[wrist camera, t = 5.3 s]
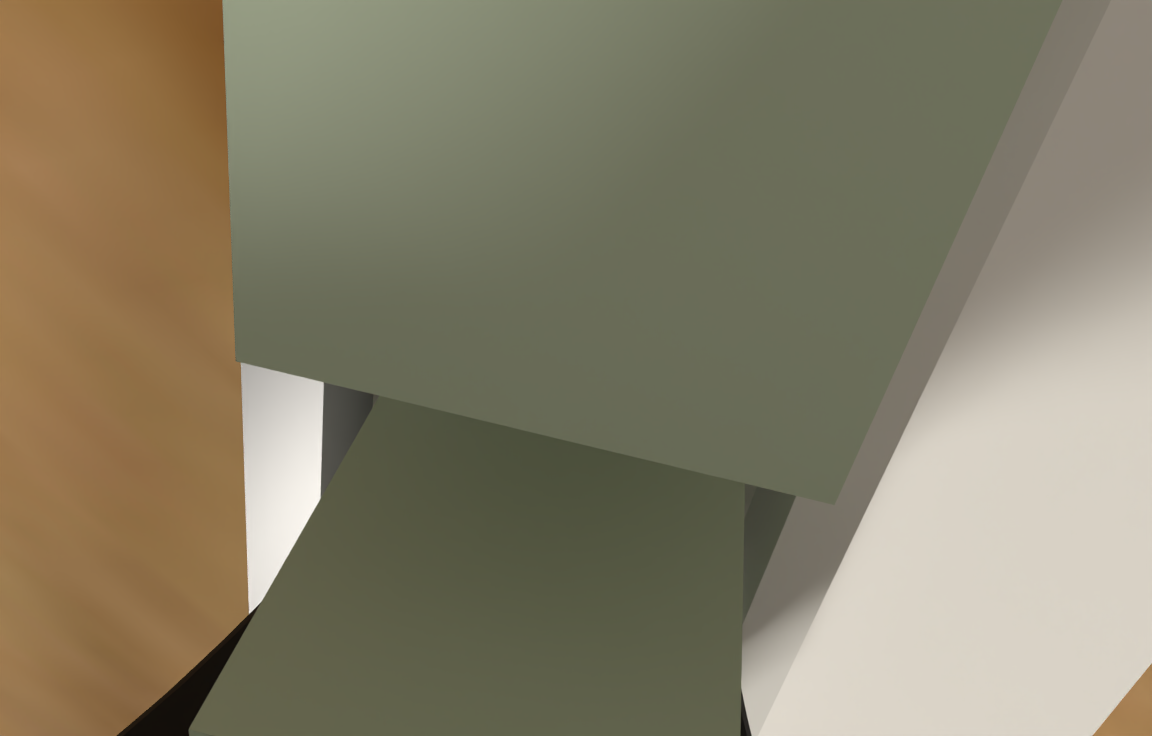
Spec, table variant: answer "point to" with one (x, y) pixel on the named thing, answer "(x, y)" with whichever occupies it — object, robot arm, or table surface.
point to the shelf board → (992, 450)
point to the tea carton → (496, 594)
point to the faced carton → (614, 208)
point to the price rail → (289, 460)
